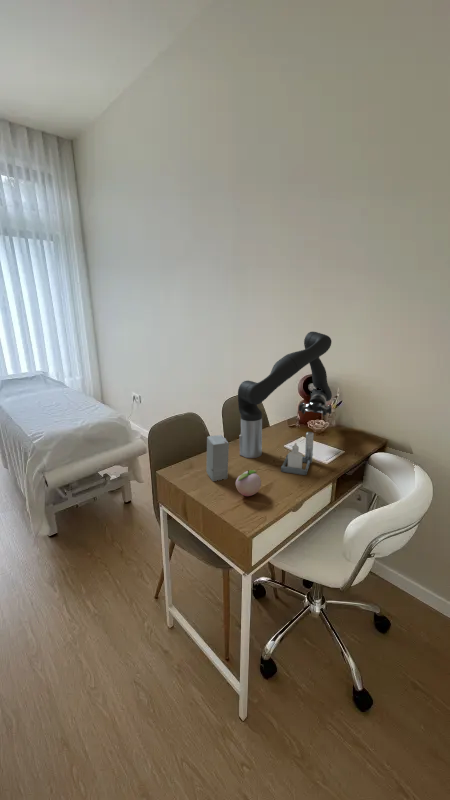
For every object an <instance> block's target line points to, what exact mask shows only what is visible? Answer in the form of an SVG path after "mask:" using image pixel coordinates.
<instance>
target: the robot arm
mask: <svg viewBox="0 0 450 800" xmlns="http://www.w3.org/2000/svg"><path fill="white" fill-rule="evenodd" d="M303 344H304V345H303V347H304V349H302V350H298V351H294V352H291V353H290V352H289V353H288V354H285V355H284V356H283V357H282V358H280V359H279V360H278V361H276V362H275V363H274V365H273V366H272V369H271V370H270V373H269V375H268V376H266V377H265V378H264V379H262V380H260V381H259V382H256V381H253V380H243V381H242V382H241V383H240V384H239V387H238V390H237V401H238V402H237V403H238V411H239V414H240V434H239V455H240V456H242V457H244V458H246V459H255V458H259V457H261V456H262V453H263V412H262V410H261V409H260V408H259V406H258V405H259V404H261V403H262V402H264V401H265V400H266V399H267V398H268V397H270V395H271V394H272V393H274V392H275V390H277V389H278V388H279V387H280V386H281V385H283V384H284V383H285V382H286V381H288V380H289V379H291V377H293V376H294V375H297V373H298V372H299V371H300V370H302V369H303V368H305V367H306V366H307V365H309V366H310V370H311V378H312V384H313V387H314V388H319V389H321V390H317V389H314V388H312V389H313V390H312V389H311V391H312V393H311V392H310V399H309V401H308V403H305V402H302V401H301V403H300V404H298V411H299V412H301V413H302V414H303V415H305V413H306V412H308V413H309V412H312V413H314V414H322V416H327V414H329V415H331V414H332V405H331V404H328V405H327V402H329V401H331V400H332V396H333V394H332V390H331V388H330V386H329V384H328V374H327V370H326V367H325V365H324V364H323V362H322V360H321V359H320V357H321V356H323V355H325V354H326V353H327V352H328V351H329V350H330V348H331V347H332V339H331V337H330V336H329V335H326V334H323V333H321V332H318V331H309V332H308V333H307V334H306V335H305V337H304V340H303ZM326 405H327V406H326Z"/></svg>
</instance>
